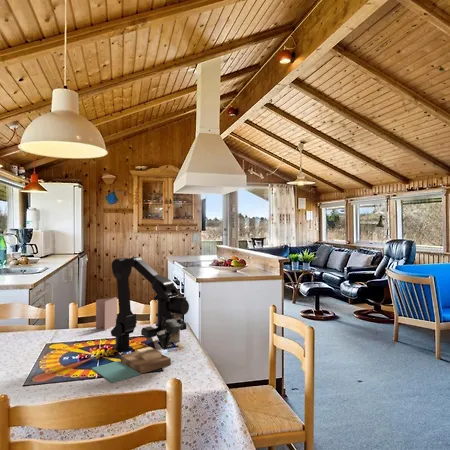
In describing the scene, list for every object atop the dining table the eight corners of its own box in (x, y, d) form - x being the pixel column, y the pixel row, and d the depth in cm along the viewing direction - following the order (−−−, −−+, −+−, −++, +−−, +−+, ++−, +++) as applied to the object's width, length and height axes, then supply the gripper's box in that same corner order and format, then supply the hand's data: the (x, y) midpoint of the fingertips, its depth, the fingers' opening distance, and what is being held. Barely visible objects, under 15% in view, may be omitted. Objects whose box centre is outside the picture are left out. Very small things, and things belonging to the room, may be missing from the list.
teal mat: (91, 368, 141) (91, 367, 141) (118, 361, 149) (118, 360, 149) (112, 383, 129) (112, 382, 129) (140, 374, 136) (140, 373, 136)
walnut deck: (120, 361, 149) (120, 355, 149) (149, 354, 157) (149, 348, 157) (141, 373, 137) (141, 367, 137) (170, 365, 146) (170, 358, 145)
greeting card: (116, 324, 203) (116, 296, 203) (121, 327, 198) (122, 299, 198) (95, 328, 196) (95, 299, 196) (100, 331, 190) (100, 301, 190)
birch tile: (136, 354, 149) (136, 349, 149) (149, 351, 153) (149, 346, 153) (148, 361, 143) (148, 355, 143) (161, 357, 147) (161, 352, 147)
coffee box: (160, 343, 172) (160, 308, 172) (159, 339, 178) (159, 305, 178) (180, 341, 174) (180, 307, 174) (178, 337, 180) (178, 304, 180)
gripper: (155, 319, 141) (155, 360, 141) (194, 311, 153) (194, 349, 153) (140, 313, 149) (140, 352, 149) (178, 306, 162) (178, 342, 162)
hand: (164, 349), depth 153 cm, fingers closed
